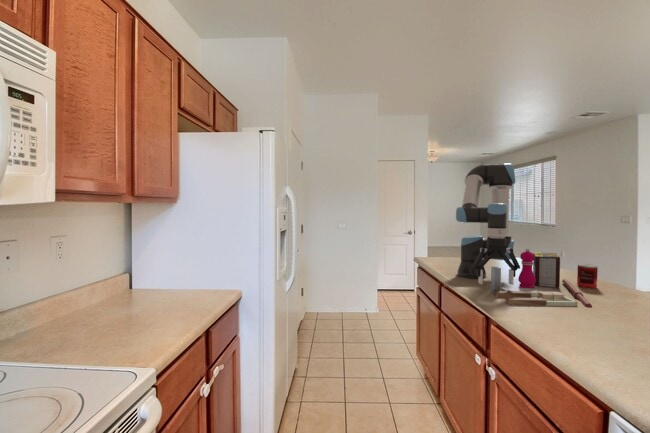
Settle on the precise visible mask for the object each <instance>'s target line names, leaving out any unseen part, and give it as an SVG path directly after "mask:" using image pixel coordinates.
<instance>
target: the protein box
mask: <svg viewBox="0 0 650 433" xmlns="http://www.w3.org/2000/svg"><path fill="white" fill-rule="evenodd" d="M533 254H534V256H535V259H534V260H533V261H532V262H533V265H532V271H533V274H534V276H535V279H536V282H535V283H534V284H533V285H534V287H540V288H541V287H542V288H543V287H544V288H552V289H553V288H554V289H560V287H561V286H560V285H561V284H560V280H561V278H560V277H561V257H560V256H559V255H558V254H557V253H556V252H555V253H554V252H539V251H533Z"/></svg>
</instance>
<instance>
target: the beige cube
mask: <svg viewBox="0 0 650 433" xmlns="http://www.w3.org/2000/svg"><path fill="white" fill-rule="evenodd" d="M536 292H537V296H536V298H542V299H544V300H546V301H553V294H551V293H549V292H550V291H536Z"/></svg>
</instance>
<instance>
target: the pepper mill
mask: <svg viewBox="0 0 650 433" xmlns="http://www.w3.org/2000/svg"><path fill="white" fill-rule="evenodd" d="M519 257H520V260H521V262H520V263H521V266H522V267H521V271H520V272H519V275H518V279H517V280H518V282H519V285H518V287H519V288H520V289H521V288H522V289H534V288H535V285H534V283H535V282H536V279H535V276H534V274H533V260H534V259H535V256H534V252H531V249H530V248H525V251H522V252H521V253H520V256H519Z"/></svg>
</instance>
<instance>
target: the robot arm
mask: <svg viewBox="0 0 650 433" xmlns="http://www.w3.org/2000/svg"><path fill="white" fill-rule="evenodd" d="M464 184H465V189H464V193H463V194H464V195H463V199H462V205H461V207H457V208H456V210H455V220H456V222H458V223H464V224H465V223H466V224H467V223H480V224H481V223H483V224H487V231H486V232H487V233H486V234H487V235H486V236H487V238H485V237H484V235H469V236H464V237H462V238H461V240H460V247H461V248H460V263H459V266H458V269H457V275H458V276H460V277H461V278H468V279H478V282H477V283H478V284H479V285H483V284H484V283H483V282H484V281H483V280H484V279H485V278H487V272H486V269H485V266H486V264H487V263H488V262H489V261H490V260H498V261H504V263H506V264H507V266H508V267H509V269H508V284H509V285H512V286H514V278H516V271H517V270H520V269H521V266H520V264H519V261H518V260H517V258H516V255H515V253H514V244H515V240H514V239H512V235H511V234H510V233H509V219H510V218H509V211H510V209H509V206H510V190H511V189H512V188H513V185H515V184H516V173H515V168H514V165H513V163H509V162H508V163H507V162H506V163H504V162H503V163H490V164H489V163H488V164H487V163H486V164H485V163H483V164H479V165H478V166H477V165H476V166H475V167H473V168H472V169H470V170H469V172H468V173H467V174H466V176H465V179H464ZM483 185H486V186H487V185H488V189H489V190H491V202H490V203H489V204H487V207H486V206H485V207H484V206H483V207H480V206H479V202H480V196H481V188H482V187H483ZM510 260H511V261H510Z"/></svg>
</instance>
